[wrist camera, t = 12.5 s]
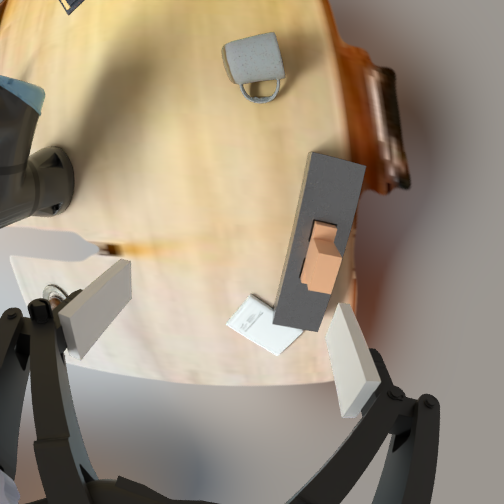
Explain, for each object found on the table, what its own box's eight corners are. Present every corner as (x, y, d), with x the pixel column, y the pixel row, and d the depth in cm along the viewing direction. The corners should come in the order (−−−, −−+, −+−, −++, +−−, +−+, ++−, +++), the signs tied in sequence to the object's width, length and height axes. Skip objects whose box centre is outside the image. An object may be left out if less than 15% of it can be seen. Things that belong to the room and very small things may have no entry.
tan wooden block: (299, 266, 45) (304, 303, 34) (311, 214, 42) (322, 236, 31) (316, 270, 45) (326, 307, 34) (330, 219, 42) (346, 242, 31)
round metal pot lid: (40, 281, 56) (29, 288, 52) (68, 286, 55) (57, 295, 50) (52, 319, 60) (43, 327, 56) (81, 327, 59) (71, 337, 55)
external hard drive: (277, 351, 54) (226, 320, 52) (303, 326, 51) (250, 292, 50) (277, 356, 52) (225, 325, 51) (303, 331, 50) (249, 296, 48)
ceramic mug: (226, 53, 35) (215, 36, 28) (275, 43, 34) (274, 24, 27) (239, 109, 39) (230, 101, 32) (290, 99, 37) (292, 89, 30)
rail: (273, 308, 50) (272, 324, 45) (308, 152, 40) (312, 151, 35) (314, 316, 49) (317, 331, 45) (356, 164, 40) (366, 166, 35)
